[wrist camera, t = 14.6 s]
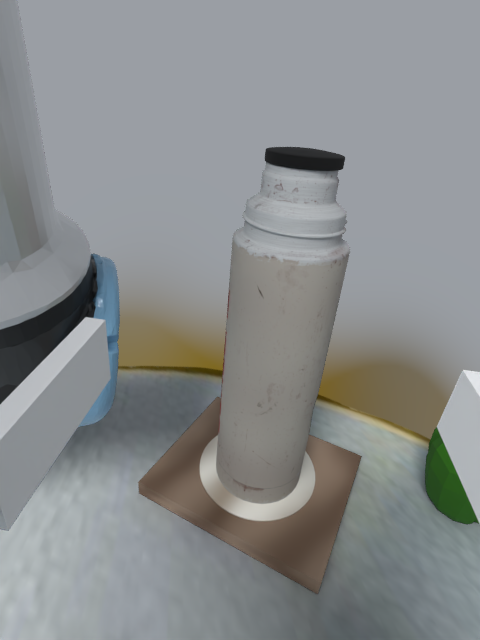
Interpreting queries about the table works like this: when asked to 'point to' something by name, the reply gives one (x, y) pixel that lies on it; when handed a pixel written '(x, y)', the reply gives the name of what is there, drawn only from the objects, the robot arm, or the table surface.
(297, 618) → the table surface
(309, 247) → the thermos bottle
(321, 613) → the table surface
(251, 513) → the docking mat
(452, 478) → the bell pepper
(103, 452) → the table surface
